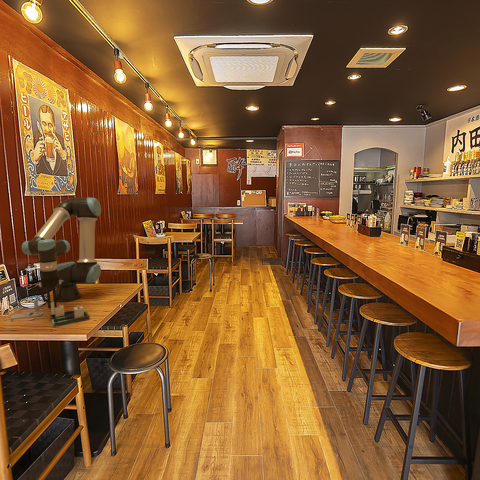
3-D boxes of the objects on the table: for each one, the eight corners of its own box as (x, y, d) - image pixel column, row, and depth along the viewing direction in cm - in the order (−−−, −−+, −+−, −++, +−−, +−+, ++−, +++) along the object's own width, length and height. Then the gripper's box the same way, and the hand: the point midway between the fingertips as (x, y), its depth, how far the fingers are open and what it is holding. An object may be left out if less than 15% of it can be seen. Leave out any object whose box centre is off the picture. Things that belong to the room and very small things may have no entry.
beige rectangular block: (55, 317, 162) (54, 305, 161) (63, 315, 165) (62, 303, 164) (56, 319, 159) (54, 307, 158) (64, 317, 161) (63, 305, 160)
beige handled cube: (74, 318, 161) (73, 306, 160) (82, 316, 163) (81, 304, 162) (75, 320, 157) (74, 308, 156) (84, 319, 160) (83, 306, 159)
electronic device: (10, 302, 163) (42, 298, 167) (13, 319, 164) (45, 315, 169) (6, 305, 158) (39, 301, 162) (9, 323, 159) (42, 319, 164)
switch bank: (50, 319, 163) (49, 313, 163) (84, 312, 173) (83, 307, 172) (53, 330, 150) (52, 324, 149) (90, 321, 159) (89, 316, 159)
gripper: (34, 273, 150) (38, 318, 153) (64, 269, 157) (68, 312, 161) (33, 270, 156) (37, 314, 159) (62, 266, 163) (66, 308, 167)
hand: (53, 313), depth 160 cm, fingers closed
